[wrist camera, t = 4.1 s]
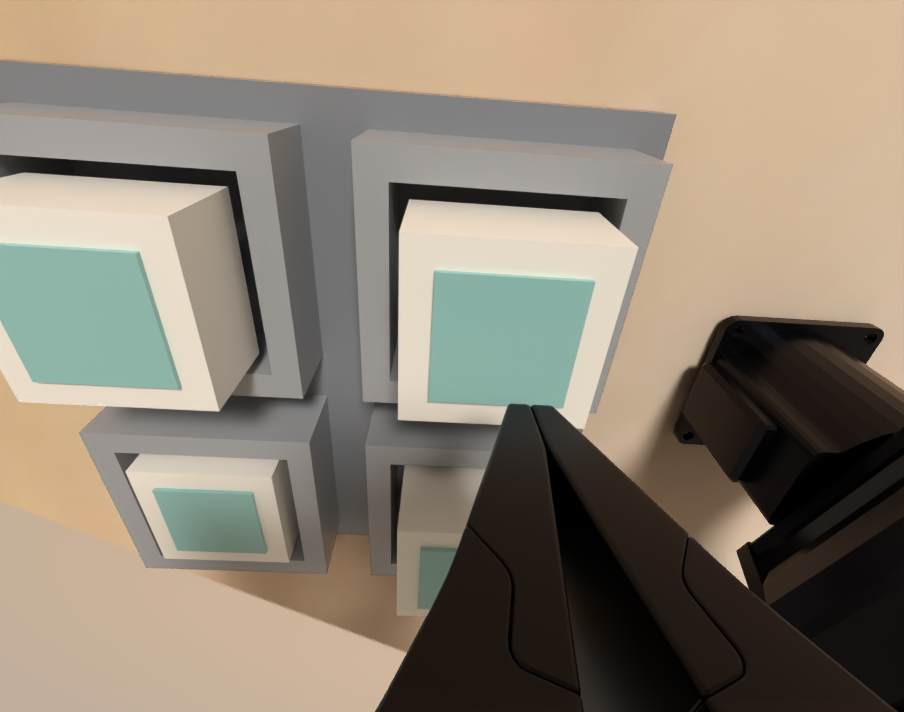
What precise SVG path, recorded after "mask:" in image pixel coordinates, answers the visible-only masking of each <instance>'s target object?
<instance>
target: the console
mask: <svg viewBox="0 0 904 712" xmlns="http://www.w3.org/2000/svg"><path fill="white" fill-rule="evenodd" d="M675 118H676V114H669V113H663V112H653V111H641V110H628V109H616V108H603V107H591V106H578V105H566V104H553V103H541V102H528V101H516V100H503V99H491V98H479V97H466V96H454V95H441V94H429V93H416V92H404V91H391V90H379V89H366V88H354V87H341V86H329V85H316V84H304V83H292V82H279V81H267V80H254V79H242V78H229V77H217V76H204V75H192V74H179V73H167V72H154V71H142V70H129V69H117V68H105V67H92V66H80V65H67V64H55V63H42V62H30V61H17V60H5V59H0V178H1V177H6V176H10V175H15V174H19V173H24V172H25V173H39V174H54V175H68V176H82V177H97V178H111V179H125V180H140V181H154V182H169V183H183V184H197V185H212V186H226V187H228V189H229V195H230V200H231V205H232V211H233V216H234V221H235V226H236V232H237V237H238V242H239V248H240V253H241V258H242V264H243V269H244V274H245V279H246V285H247V290H248V295H249V301H250V306H251V311H252V316H253V322H254V327H255V332H256V338H257V343H258V348H259V355H258V356H257V357H256V359H255V360H254V362H253V363H252V365H251V366H250V368H249V369H248V371H247V372H246V374H245V375H244V376H243V378H242V379H241V381H240V382H239V384H238V385H237V387H236V388H235V390H234V391H233V392H232V394H231V395H230V397H229V398H228V400H227V401H226V403H225V404H224V406H223V407H222V409H221V410H220V411H219V412H218V411H197V410H176V409H155V408H134V407H113V406H106V407H105V408H104V409H103V410H102V411H101V412H100V413H99V414H98V415H97V416H96V417H95V418H94V419H93V420H92V421H91V422H90V423H88V424H87V425H86V426H85V427H84V428H83V429H82V430H81V431H80V432H79V434H80V436H81V438H82V440H83V442H84V444H85V446H86V448H87V450H88V452H89V454H90V456H91V458H92V460H93V462H94V464H95V466H96V468H97V470H98V472H99V474H100V476H101V478H102V480H103V482H104V484H105V486H106V488H107V490H108V492H109V494H110V496H111V498H112V500H113V502H114V504H115V506H116V508H117V510H118V512H119V514H120V516H121V518H122V520H123V522H124V524H125V526H126V528H127V530H128V532H129V534H130V536H131V538H132V540H133V542H134V544H135V546H136V548H137V550H138V552H139V554H140V556H141V558H142V560H143V562H144V564H145V566H146V568H170V569H200V570H231V571H262V572H294V573H325V574H327V571H328V567H329V563H330V559H331V555H332V551H333V547H334V543H335V538H336V534H357V535H369V539H370V561H371V575H387V576H397V529H398V520H399V511H400V502H401V493H402V484H403V475H404V466H405V465H416V466H439V467H462V468H485V469H486V466H487V463H488V460H489V458H490V455H491V452H492V449H493V446H494V443H495V440H496V437H497V435H498V432H499V429H500V426H501V425H492V424H471V423H450V422H429V421H408V420H398V319H399V230H400V227H401V224H402V221H403V218H404V214H405V211H406V208H407V205H408V202H409V199H413V200H428V201H442V202H456V203H471V204H485V205H499V206H514V207H528V208H543V209H557V210H571V211H586V212H599V213H600V214H601V215H602V216H603V217H604V218H606V219H607V220H608V221H609V222H610V223H611V224H612V225H613V226H615V227H616V228H617V229H618V230H619V231H620V232H621V233H623V234H624V235H625V236H626V237H627V238H628V239H629V240H631V241H632V242H633V243H634V244H635V245H636V246H637V247H638V251H637V254H636V258H635V261H634V264H633V268H632V271H631V274H630V278H629V281H628V284H627V288H626V291H625V294H624V298H623V301H622V304H621V308H620V311H619V314H618V318H617V321H616V325H615V328H614V331H613V335H612V338H611V341H610V345H609V348H608V351H607V355H606V358H605V361H604V365H603V368H602V371H601V375H600V378H599V381H598V385H597V388H596V391H595V395H594V398H593V401H592V405H591V408H590V412H589V413H596V412H597V408H598V405H599V402H600V399H601V395H602V392H603V389H604V386H605V383H606V379H607V376H608V373H609V370H610V366H611V363H612V360H613V357H614V353H615V350H616V347H617V344H618V341H619V337H620V334H621V331H622V328H623V324H624V321H625V318H626V315H627V311H628V308H629V305H630V302H631V299H632V295H633V292H634V289H635V286H636V282H637V279H638V276H639V273H640V269H641V266H642V263H643V260H644V257H645V253H646V250H647V247H648V244H649V240H650V237H651V234H652V231H653V228H654V224H655V221H656V218H657V215H658V211H659V208H660V205H661V202H662V198H663V195H664V192H665V189H666V186H667V182H668V179H669V176H670V173H671V169H672V166H673V164H671V163H668V162H665V161H663V158H664V155H665V151H666V148H667V145H668V141H669V138H670V135H671V131H672V128H673V124H674V121H675ZM578 430H579V431H580V432H581V433H582V431H583V429H578ZM139 454H160V455H183V456H207V457H230V458H253V459H276V460H287V463H288V469H289V474H290V480H291V486H292V491H293V497H294V503H295V508H296V514H297V520H298V525H299V534H298V537H297V540H296V543H295V546H294V549H293V552H292V555H291V558H290V561H289V563H286V562H256V561H225V560H195V559H165V558H164V556H163V554H162V552H161V549H160V547H159V545H158V543H157V540H156V538H155V536H154V534H153V532H152V529H151V527H150V525H149V523H148V521H147V518H146V516H145V514H144V512H143V509H142V507H141V505H140V503H139V501H138V498H137V496H136V494H135V492H134V490H133V487H132V485H131V483H130V481H129V478H128V476H127V474H126V472H125V471H126V470H127V469H128V468H129V466H130V465H131V464H132V463H133V462H134V460H135V459H136V458H137V457H138V456H139Z"/></svg>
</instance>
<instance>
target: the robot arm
mask: <svg viewBox="0 0 904 712" xmlns="http://www.w3.org/2000/svg"><path fill="white" fill-rule="evenodd" d="M736 326H738V328H737V329H736V330H735V331H733V332H731V331H732V329H733V328H735V327H736ZM866 336H867V337H866ZM865 337H866V338H865ZM883 337H884V332H883V331H882V330H881V329H880V328H878V327H876V326H875V325H873V324H868V323H852V322H835V321H818V320H801V319H785V318H768V317H751V316H731V317H729V318H727V319H726V320H724V321H723V322H722V324H721V325H720V327H719V329H718V331H717V334H716V336H715V338H714V340H713V343H712V345H711V347H710V350H709V352H708V354H707V356H706V359H705V361H704V363H703V365H702V367H701V368H700V370H699V373H698V375H697V377H696V380H695V382H694V384H693V386H692V389H691V391H690V393H689V396H688V398H687V400H686V402H685V405H684V407H683V409H682V413H681V415H680V418H679V420H678V422H677V424H676V427H675V429H674V435H675V436H676V438H677V440H678V441H679V442H680V443H683V444H699V445H706V447H707V448H708V450H709V451H710V452H711V454H712V455H713V457H714V458H715V459H716V461H717V462H718V464H719V465H720V467H721V468H722V469H723V471H724V472H725V474H726V475H727V476H728V478H729V479H730V480H731V481H732V482H739V483H740V484H741V485H742V487H743V488H744V489H745V491H746V492H747V494H748V495H749V496H750V498H751V499H752V500H753V502H754V503H755V505H756V506H757V507H758V509H759V510H760V512H761V513H762V514H763V516H764V517H765V518H766V520H767V521H768V523H769V524H771V525H774V526H773V527H772V528H770V529H769V530H768V531H766V532H765V533H764V534H762V535H761V536H760V537H759V538H757V539H756V540H755V541H753V542H752V543H751V542H747V543H746V544H745V545H743V546H742V547H741V548H739V549H738V550H737V555H738V558H739V561H740V564H741V567H742V570H743V573H744V576H745V579H746V582H747V585H748V588H749V589H748V588H747V587H746V586H745V585H743V584H742V583H741V582H740V581H739V580H738V579H737V578H736V577H735V576H734V575H732V574H731V573H730V572H729V571H728V570H727V569H726V568H725V567H724V566H723V565H721V564H720V563H719V562H718V561H717V560H716V559H715V558H714V557H713V556H711V555H710V554H709V553H708V552H707V551H706V550H705V549H704V548H703V547H702V546H701V545H700V544H699V543H698V542H697V541H696V540H694V539H693V538H692V537H689V538H688V533H687V532H686V531H685V530H684V529H683V528H682V527H680V526H679V525H678V524H677V523H676V522H675V521H674V520H673V519H672V518H671V517H670V516H669V515H668V514H667V513H666V512H665V511H663V510H662V509H661V508H660V507H659V506H658V505H657V504H656V503H655V502H654V501H653V500H652V499H651V498H650V497H649V496H648V495H647V494H645V493H644V492H643V491H642V490H641V489H640V488H639V487H638V486H637V485H636V484H635V483H634V482H633V481H632V480H631V479H630V478H628V477H627V476H626V475H625V474H624V473H623V472H622V471H621V470H620V469H619V468H618V467H617V466H616V465H615V464H614V463H613V462H611V461H610V460H609V459H608V458H607V457H606V456H605V455H604V454H603V453H602V452H601V451H600V450H599V449H598V448H597V447H596V446H595V445H593V444H592V443H591V442H590V441H589V440H588V439H587V438H586V437H585V436H584V435H583V434H582V433H581V432H580V431H579V430H578V429H576V428H575V427H574V426H573V425H572V424H571V423H570V422H569V421H568V420H567V419H566V418H565V417H564V416H563V415H562V414H561V413H559V412H558V411H557V410H556V409H555V408H554V407H553V406H550V405H532V406H529V405H527V404H515V403H510V404H509V405H508V406H507V409H506V412H505V415H504V417H503V420H502V423H501V426H500V429H499V432H498V435H497V437H496V440H495V443H494V446H493V449H492V452H491V455H490V458H489V460H488V463H487V466H486V469H485V472H484V475H483V478H482V480H481V483H480V486H479V489H478V492H477V495H476V498H475V501H474V503H473V506H472V509H471V512H470V515H469V518H468V521H467V524H466V528H465V529H464V531H463V534H462V537H461V540H460V543H459V546H458V549H457V551H456V554H455V556H454V559H453V561H452V564H451V566H450V569H449V571H448V574H447V576H446V578H445V580H444V582H443V584H442V586H441V588H440V591H439V593H438V595H437V597H436V599H435V601H434V603H433V605H432V607H431V609H430V611H429V613H428V615H427V616H426V618H425V620H424V622H423V624H422V626H421V628H420V630H419V632H418V633H417V635H416V637H415V639H414V641H413V643H412V645H411V647H410V648H409V650H408V652H407V654H406V656H405V658H404V660H403V662H402V664H401V665H400V667H399V669H398V671H397V673H396V675H395V677H394V679H393V681H392V682H391V684H390V686H389V688H388V690H387V692H386V694H385V695H384V697H383V699H382V701H381V702H380V704H379V706H378V708H377V709H376V711H375V712H904V390H902V389H901V388H899V387H898V386H896V385H895V384H893V383H892V382H890V381H889V380H888V379H886V378H885V377H883V376H882V375H880V374H879V373H877V372H876V371H874V370H873V369H871V368H870V367H868V366H867V365H866V363H867V361H868V360H869V359H870V357H871V356H872V354H873V353H874V351H875V350H876V348H877V347H878V345H879V344H880V342H881V341H882V339H883ZM687 432H688V433H687ZM685 433H686V434H685Z"/></svg>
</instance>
